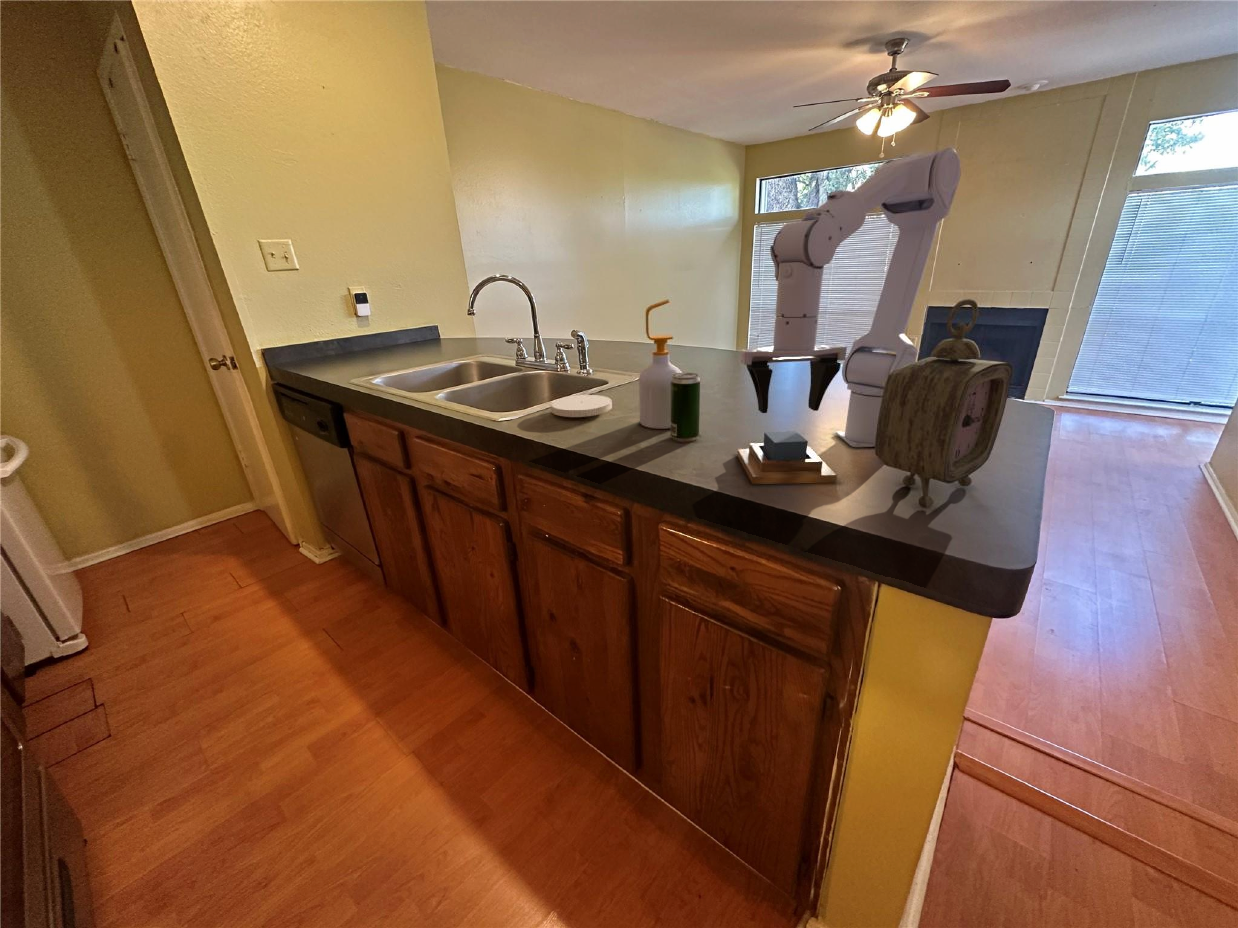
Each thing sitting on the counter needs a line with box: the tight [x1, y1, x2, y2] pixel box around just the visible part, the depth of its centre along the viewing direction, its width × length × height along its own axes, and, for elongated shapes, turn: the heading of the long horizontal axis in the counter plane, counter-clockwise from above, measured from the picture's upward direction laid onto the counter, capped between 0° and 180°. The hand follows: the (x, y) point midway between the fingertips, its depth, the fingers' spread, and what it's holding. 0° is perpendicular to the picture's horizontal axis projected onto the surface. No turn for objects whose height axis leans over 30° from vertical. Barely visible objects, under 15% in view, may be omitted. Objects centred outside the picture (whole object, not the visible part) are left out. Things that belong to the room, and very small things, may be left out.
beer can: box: [670, 372, 701, 443], centre depth 89 cm, size 5×5×12 cm
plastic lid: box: [550, 394, 613, 418], centre depth 110 cm, size 14×14×2 cm
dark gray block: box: [763, 430, 809, 460], centre depth 74 cm, size 5×5×4 cm
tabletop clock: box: [874, 298, 1013, 509], centre depth 61 cm, size 14×9×25 cm, turn 124°
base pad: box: [736, 442, 838, 485], centre depth 75 cm, size 12×12×3 cm
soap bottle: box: [638, 298, 683, 430], centre depth 96 cm, size 9×9×25 cm
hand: (787, 410), depth 72 cm, fingers open, 7 cm apart
